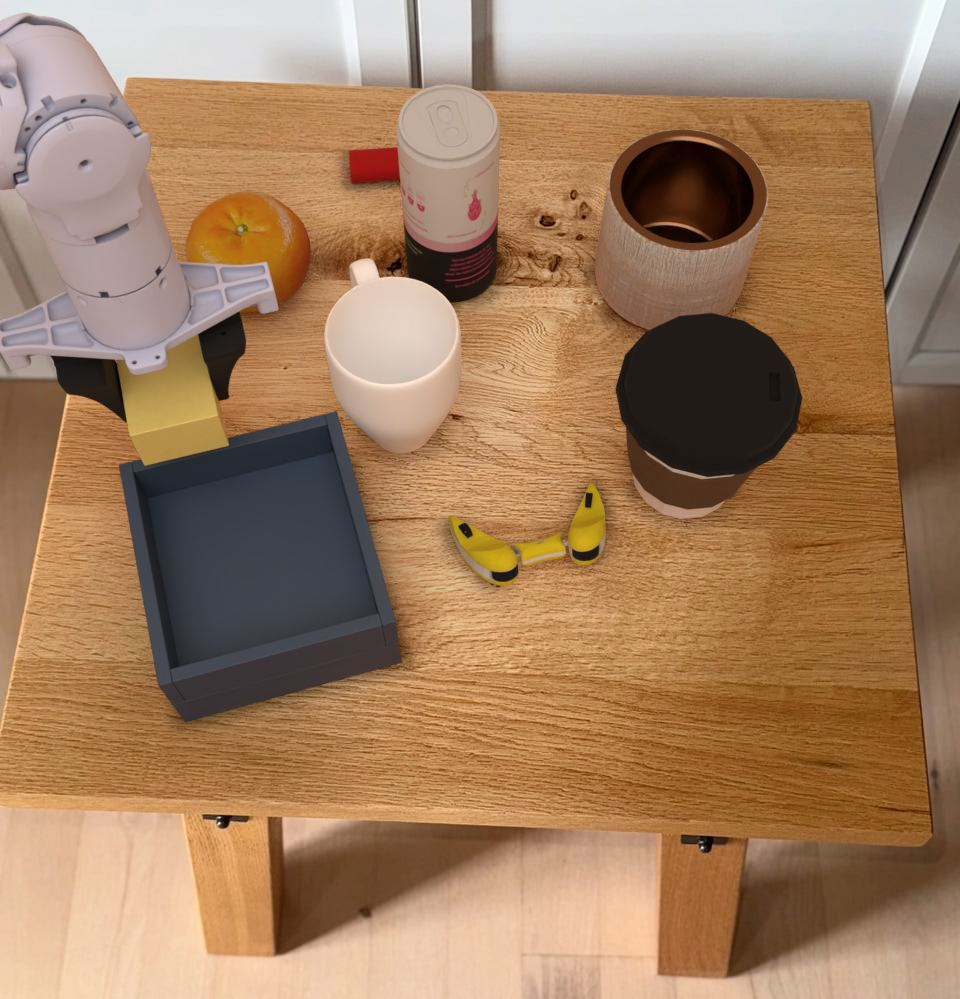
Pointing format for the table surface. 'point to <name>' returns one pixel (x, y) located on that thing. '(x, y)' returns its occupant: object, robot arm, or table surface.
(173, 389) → the notepads
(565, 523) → the table surface
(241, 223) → the fruit
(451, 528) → the game controller
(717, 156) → the planter
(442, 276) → the beverage can
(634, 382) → the coffee cup
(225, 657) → the bin
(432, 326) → the mug
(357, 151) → the lighter
